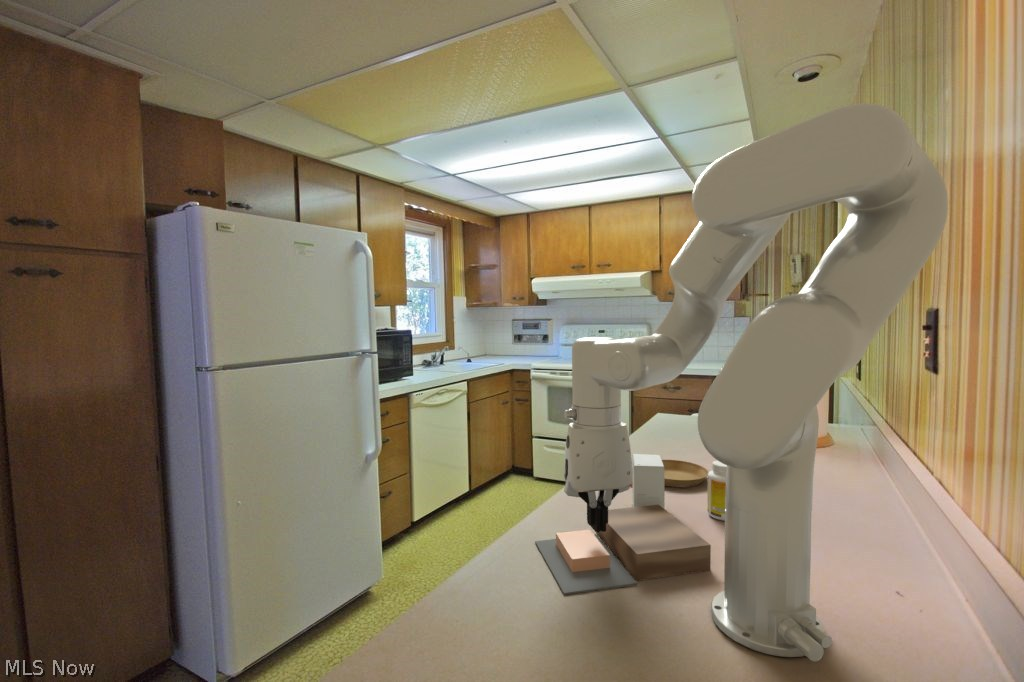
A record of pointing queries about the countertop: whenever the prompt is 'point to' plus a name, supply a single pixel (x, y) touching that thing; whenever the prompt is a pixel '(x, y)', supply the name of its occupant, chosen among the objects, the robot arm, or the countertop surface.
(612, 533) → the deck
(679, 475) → the plant saucer
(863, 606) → the countertop surface
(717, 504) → the supplement bottle
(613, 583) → the mat
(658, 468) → the small box
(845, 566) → the countertop surface
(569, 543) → the peach rectangular slab
